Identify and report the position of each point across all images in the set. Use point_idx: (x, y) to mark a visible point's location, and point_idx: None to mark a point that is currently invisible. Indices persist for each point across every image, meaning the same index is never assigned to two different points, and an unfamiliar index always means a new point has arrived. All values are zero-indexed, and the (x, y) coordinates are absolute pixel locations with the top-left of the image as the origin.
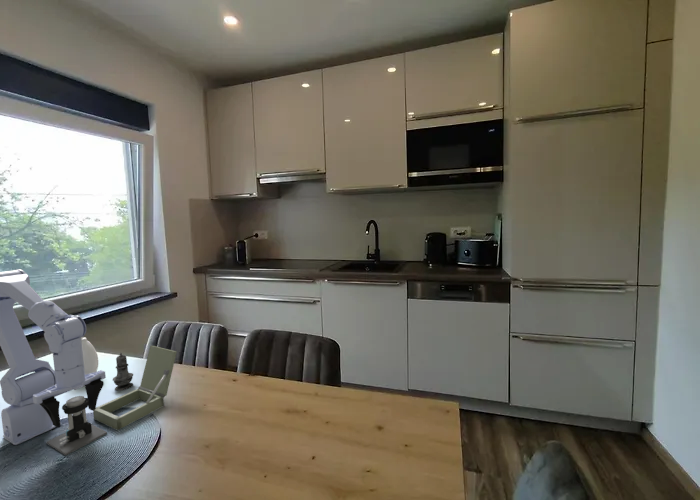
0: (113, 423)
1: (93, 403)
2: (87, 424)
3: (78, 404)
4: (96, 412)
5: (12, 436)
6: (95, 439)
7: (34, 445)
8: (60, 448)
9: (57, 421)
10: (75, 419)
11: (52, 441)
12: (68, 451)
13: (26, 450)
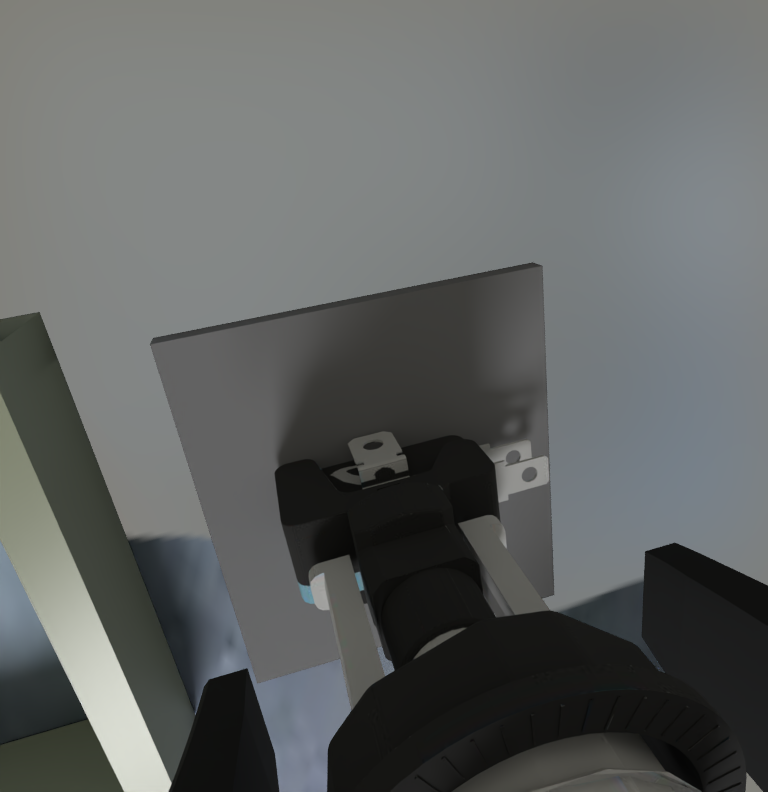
0: (51, 417)
1: (230, 773)
2: (321, 520)
3: (561, 777)
4: (169, 749)
5: None
6: (277, 316)
7: (594, 617)
8: (534, 400)
9: (735, 580)
10: (473, 588)
11: (528, 566)
12: (517, 280)
13: (641, 588)
